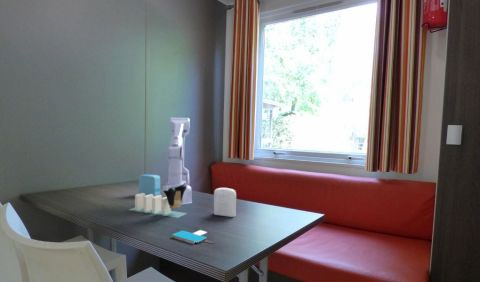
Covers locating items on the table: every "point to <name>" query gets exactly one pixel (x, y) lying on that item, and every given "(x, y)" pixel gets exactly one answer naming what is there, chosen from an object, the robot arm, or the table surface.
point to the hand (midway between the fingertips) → (175, 203)
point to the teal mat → (171, 214)
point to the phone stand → (191, 237)
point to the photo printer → (225, 202)
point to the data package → (149, 184)
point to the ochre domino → (177, 200)
